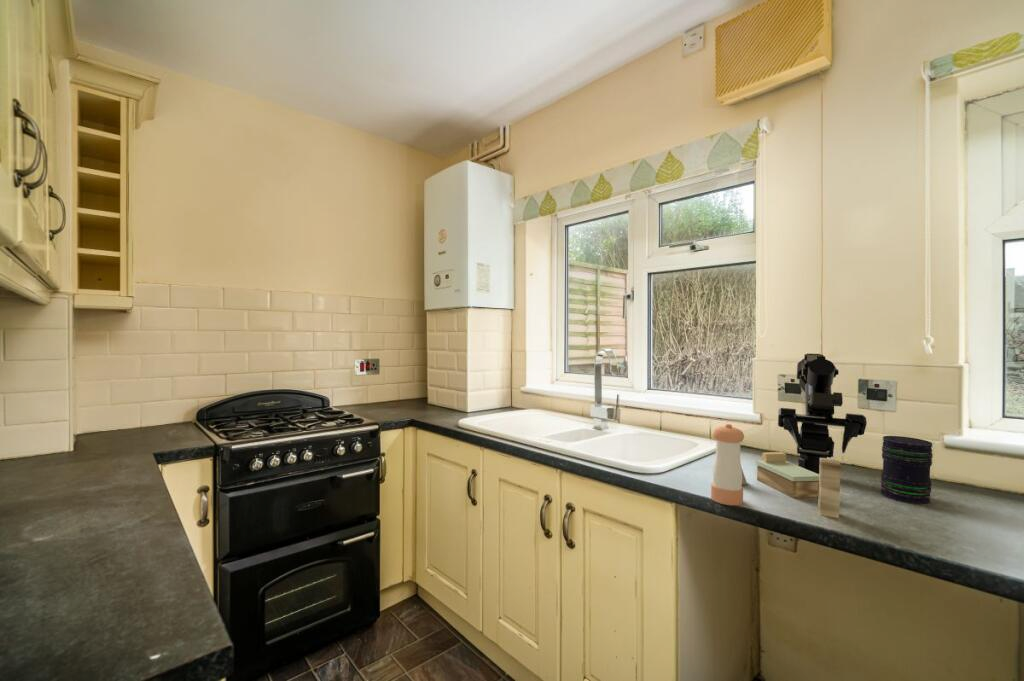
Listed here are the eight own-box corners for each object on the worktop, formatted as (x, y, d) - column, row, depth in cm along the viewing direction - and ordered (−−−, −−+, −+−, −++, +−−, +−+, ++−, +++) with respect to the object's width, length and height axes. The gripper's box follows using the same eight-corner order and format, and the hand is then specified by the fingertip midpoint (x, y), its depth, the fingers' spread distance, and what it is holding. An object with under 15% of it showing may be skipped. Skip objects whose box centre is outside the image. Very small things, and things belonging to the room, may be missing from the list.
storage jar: (931, 497, 117) (933, 440, 117) (931, 508, 110) (933, 447, 110) (881, 488, 124) (883, 433, 124) (878, 497, 117) (880, 439, 117)
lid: (783, 464, 131) (783, 451, 130) (823, 480, 116) (823, 466, 116) (756, 464, 130) (756, 451, 130) (793, 481, 115) (793, 467, 115)
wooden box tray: (782, 479, 130) (783, 465, 130) (821, 496, 117) (821, 481, 116) (756, 479, 130) (757, 465, 129) (792, 497, 116) (793, 482, 116)
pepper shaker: (706, 500, 113) (708, 424, 113) (716, 492, 119) (718, 420, 118) (737, 508, 108) (739, 428, 108) (746, 500, 114) (748, 424, 113)
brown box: (817, 509, 108) (819, 457, 108) (836, 512, 107) (838, 459, 106) (819, 514, 105) (821, 461, 105) (839, 518, 103) (840, 463, 103)
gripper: (779, 378, 121) (778, 427, 113) (866, 382, 112) (873, 437, 103) (778, 402, 129) (777, 450, 120) (860, 408, 119) (866, 461, 110)
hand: (820, 449), depth 113 cm, fingers open, 9 cm apart
